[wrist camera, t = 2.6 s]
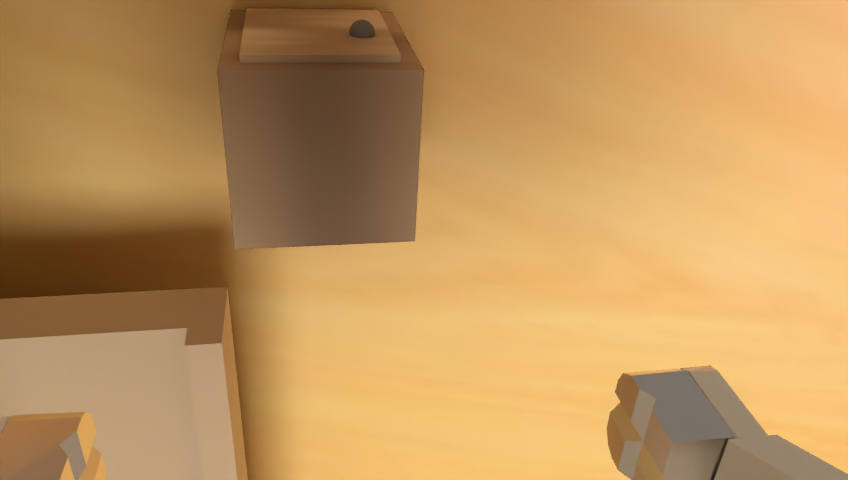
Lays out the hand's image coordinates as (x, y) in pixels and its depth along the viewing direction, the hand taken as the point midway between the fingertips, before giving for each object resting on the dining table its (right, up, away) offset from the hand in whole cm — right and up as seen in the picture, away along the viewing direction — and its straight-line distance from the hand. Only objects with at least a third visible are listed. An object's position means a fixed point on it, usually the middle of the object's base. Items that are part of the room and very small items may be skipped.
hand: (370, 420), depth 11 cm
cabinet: (-3, +8, +13) cm, 15 cm away
